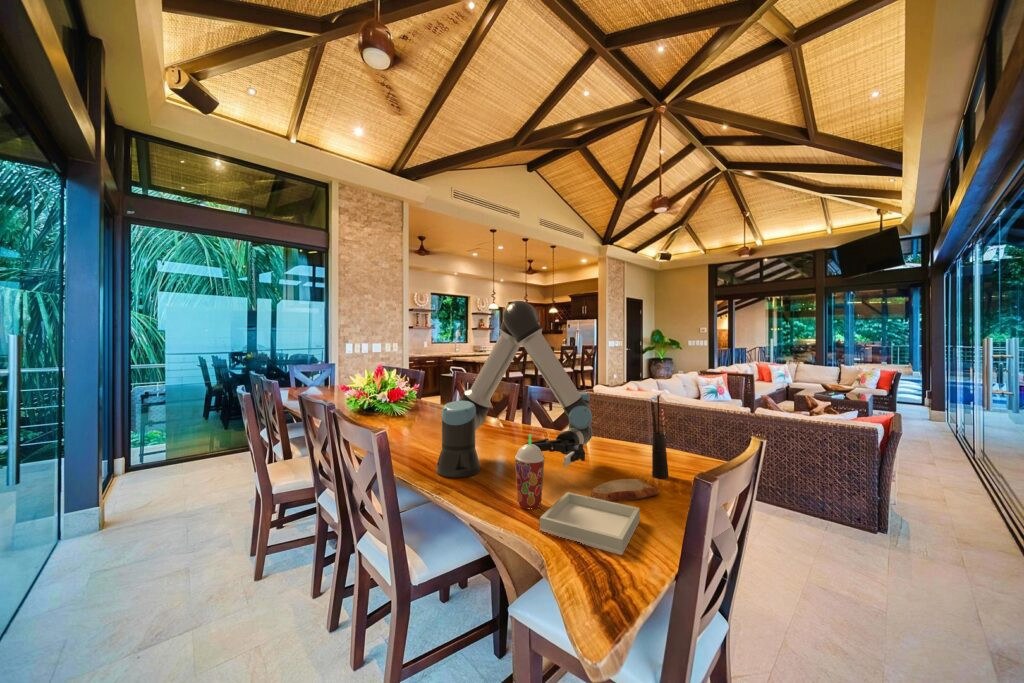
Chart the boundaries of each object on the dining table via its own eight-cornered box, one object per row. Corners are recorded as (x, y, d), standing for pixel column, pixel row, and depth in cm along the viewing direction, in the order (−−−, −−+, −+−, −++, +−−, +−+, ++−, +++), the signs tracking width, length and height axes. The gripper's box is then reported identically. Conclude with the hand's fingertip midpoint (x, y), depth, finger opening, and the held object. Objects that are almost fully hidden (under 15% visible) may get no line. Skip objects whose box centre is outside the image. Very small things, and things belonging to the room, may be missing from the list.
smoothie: (546, 500, 115) (546, 431, 115) (541, 513, 107) (542, 439, 106) (517, 497, 117) (518, 430, 116) (511, 509, 109) (512, 437, 108)
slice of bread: (586, 500, 116) (587, 487, 116) (603, 480, 132) (603, 469, 132) (650, 514, 108) (651, 500, 108) (660, 490, 124) (660, 479, 124)
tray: (539, 531, 97) (539, 517, 97) (567, 504, 113) (567, 492, 113) (621, 555, 87) (622, 539, 87) (639, 521, 103) (639, 508, 103)
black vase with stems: (654, 468, 143) (655, 391, 142) (680, 476, 136) (681, 394, 135) (640, 474, 137) (642, 393, 136) (667, 482, 130) (668, 397, 129)
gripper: (604, 458, 132) (583, 478, 113) (536, 446, 144) (507, 463, 125) (605, 435, 132) (583, 452, 113) (537, 426, 144) (507, 439, 125)
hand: (543, 458), depth 119 cm, fingers open, 13 cm apart
